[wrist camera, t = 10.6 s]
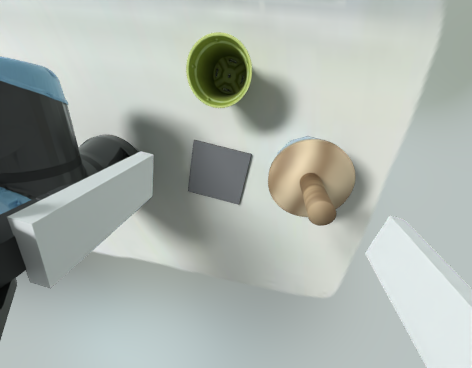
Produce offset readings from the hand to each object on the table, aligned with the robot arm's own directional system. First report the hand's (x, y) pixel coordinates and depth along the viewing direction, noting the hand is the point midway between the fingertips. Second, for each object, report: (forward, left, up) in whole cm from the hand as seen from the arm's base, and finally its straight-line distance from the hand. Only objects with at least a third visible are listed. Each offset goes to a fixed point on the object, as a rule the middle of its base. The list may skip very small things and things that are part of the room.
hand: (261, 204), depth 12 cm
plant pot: (-9, +6, -31) cm, 33 cm away
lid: (+9, -7, -25) cm, 28 cm away
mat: (-8, -13, -31) cm, 34 cm away
